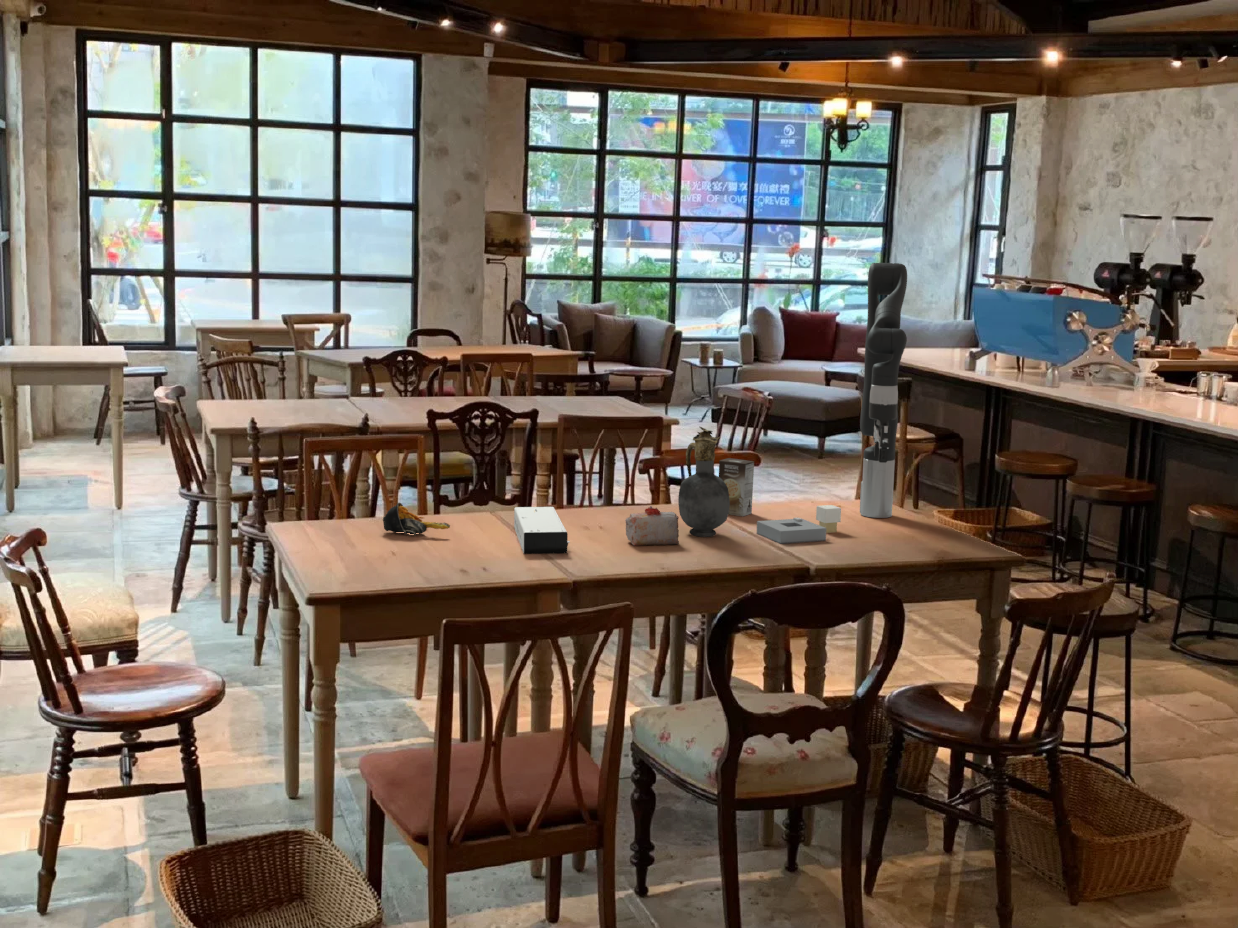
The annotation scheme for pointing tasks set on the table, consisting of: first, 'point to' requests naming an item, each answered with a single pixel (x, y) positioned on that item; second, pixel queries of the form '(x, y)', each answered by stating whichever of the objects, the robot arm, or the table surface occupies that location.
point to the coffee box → (738, 484)
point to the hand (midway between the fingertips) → (880, 459)
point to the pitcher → (703, 489)
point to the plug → (828, 517)
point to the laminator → (540, 530)
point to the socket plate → (791, 531)
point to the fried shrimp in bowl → (408, 521)
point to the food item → (652, 528)
